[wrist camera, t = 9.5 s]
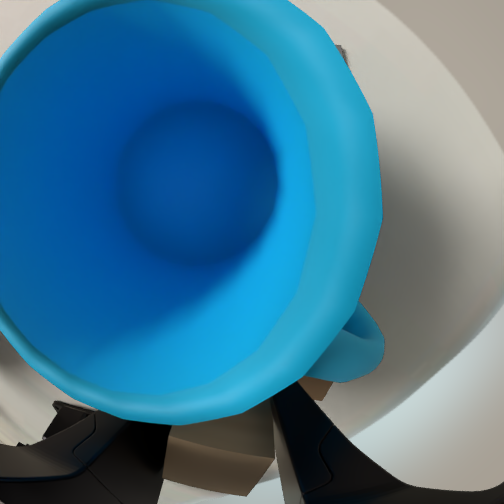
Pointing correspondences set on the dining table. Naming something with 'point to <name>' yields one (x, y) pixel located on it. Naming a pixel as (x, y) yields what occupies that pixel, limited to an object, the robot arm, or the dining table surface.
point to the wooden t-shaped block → (228, 447)
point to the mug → (185, 205)
